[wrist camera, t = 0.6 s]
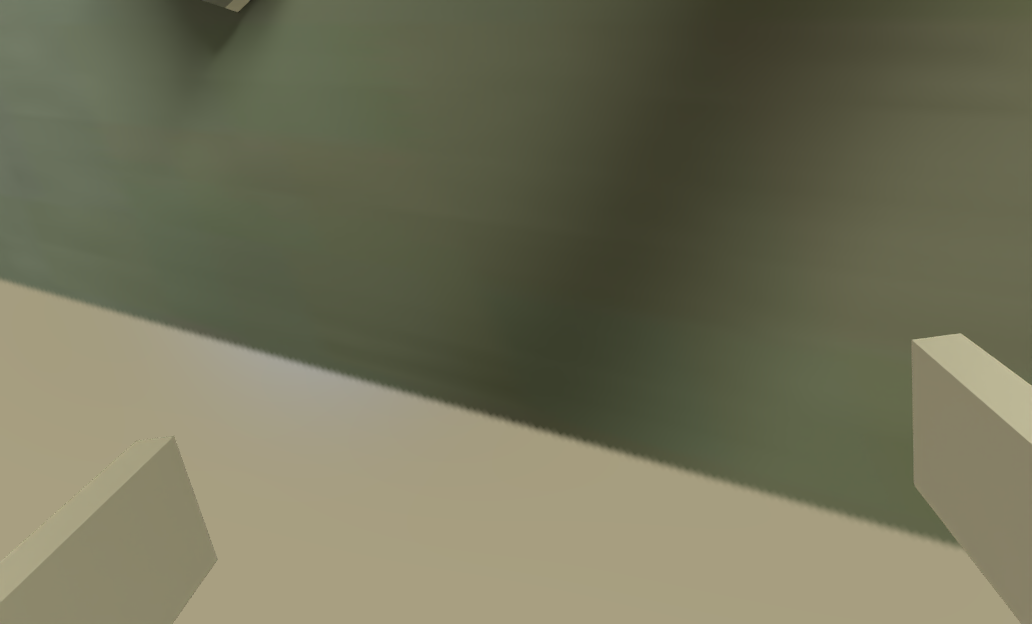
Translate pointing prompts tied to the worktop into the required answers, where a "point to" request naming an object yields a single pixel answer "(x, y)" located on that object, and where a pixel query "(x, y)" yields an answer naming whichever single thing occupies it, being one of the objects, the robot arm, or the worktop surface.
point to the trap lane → (229, 4)
